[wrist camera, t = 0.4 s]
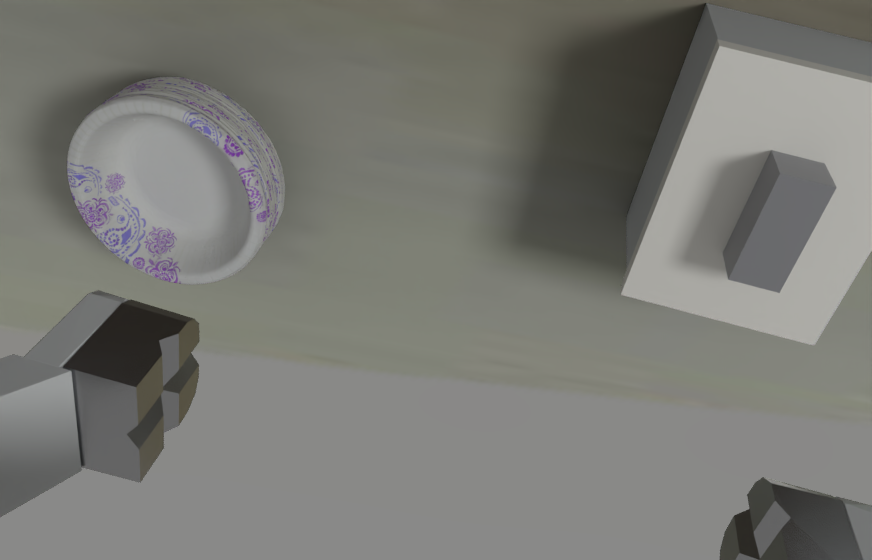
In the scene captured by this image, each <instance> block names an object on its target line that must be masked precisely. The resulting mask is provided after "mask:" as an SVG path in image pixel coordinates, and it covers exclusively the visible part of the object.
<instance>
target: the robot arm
mask: <svg viewBox="0 0 872 560" xmlns="http://www.w3.org/2000/svg"><path fill="white" fill-rule="evenodd" d="M198 343H199V323H198V322H197V321H196V320H195V319H193V318H190V317H187V316H183V315H180V314H177V313H174V312H170V311H167V310H164V309H160V308H157V307H154V306H150V305H147V304H144V303H141V302H137V301H134V300H128V299H125V298H122V297H118V296H115V295H112V294H109V293H105V292H102V291H99V290H98V291H95V292H92V293H89V294H87V295H86V296H85V297H84V298H83V299H82V300H81V301H80V302H79V303H78V304H77V305H76V306H75V307H74V308H73V309H72V310H71V311H70V312H69V313H68V314H67V315H66V316H65V317H64V318H63V319H62V320H61V321H60V322H59V323H58V324H57V325H56V326H55V327H54V328H53V329H52V330H51V331H50V332H49V333H48V334H47V335H45V337H43V338H42V340H40V341H39V342H38V343H37V344H36V345H35V346H34V347H33V348H32V349H31V350H30V351H29V352H28V353H27V354H26V355H25V356H24V357H22V356H18V355H14V354H13V355H10V356H7V357H4V358H1V359H0V517H2V516H3V515H5V514H7V513H8V512H10V511H12V510H14V509H16V508H17V507H19V506H21V505H23V504H24V503H26V502H28V501H29V500H31V499H33V498H35V497H37V496H38V495H40V494H42V493H44V492H45V491H47V490H49V489H51V488H52V487H54V486H56V485H57V484H59V483H61V482H63V481H64V480H66V479H68V478H70V477H71V476H73V475H75V474H77V473H78V472H80V471H81V470H82V469H81V467H83V468H87V469H91V470H94V471H98V472H102V473H106V474H110V475H114V476H117V477H121V478H125V479H129V480H132V481H136V482H141V481H142V479H143V478H144V476H145V475H146V474H147V472H148V471H149V469H150V468H151V466H152V465H153V463H154V462H155V460H156V459H157V457H158V456H159V454H160V453H161V451H162V450H163V448H164V432H166V431H169V430H171V429H172V428H175V427H177V426H179V425H180V423H181V421H182V420H183V418H184V417H185V415H186V413H187V412H188V410H189V407H190V405H191V403H192V400H193V398H194V395H195V393H196V388H197V383H198V377H199V364H198V363H197V361H196V360H195V358H194V357H193V355H192V354H191V352H192V351H193V350H194V348H195V347H196V345H197V344H198ZM747 496H748V502H749V508H750V509H749V510H746V511H744V512H742V513H739V514H737V515H735V516H734V517H733V519H732V520H731V522H730V524H729V525H728V527H727V529H726V531H725V534H724V537H723V541H722V545H721V549H720V560H872V506H871V505H867V504H863V503H859V502H856V501H852V500H848V499H844V498H840V497H833V496H831V495H827V494H823V493H820V492H816V491H812V490H809V489H805V488H801V487H798V486H793V485H790V484H787V483H783V482H779V481H775V480H772V479H768V478H764V477H763V478H761V479H760V480H758V481H757V482H756V483H755V484H754V485H753V487H752V488H751V490H750V491H749V493H748V494H747Z"/></svg>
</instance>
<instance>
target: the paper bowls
mask: <svg viewBox="0 0 872 560" xmlns="http://www.w3.org/2000/svg"><path fill="white" fill-rule="evenodd" d="M67 174H68V175H67V176H68V182H69V186H70V190H71V194H72V197H73V199H74V202H75V204H76V206H77V209H78V210H79V212H80V214H81V216H82V218H83V219H84V221H85V222H86V224H87V225H88V227H89V228H90V229H91V231H92V232H93V233H94V234H95V235H96V237H97V238H98V239H99V240H100V241H101V242H102V243H103V244H104V245H105V246H106V247H107V248H108V249H109V250H110V251H112V252H113V253H114V254H115V255H116V256H117V257H119V258H120V259H121V260H123V261H124V262H126V263H127V264H129V265H130V266H132V267H134V268H136V269H138V270H140V271H142V272H144V273H146V274H148V275H150V276H153V277H155V278H158V279H161V280H165V281H168V282H173V283H180V284H206V283H212V282H216V281H220V280H223V279H225V278H228V277H230V276H232V275H234V274H236V273H237V272H239V271H240V270H242V269H243V268H244V267H245V266H246V265H247V264H248V263H249V261H251V259H252V258H253V257H254V256H255V255H256V253H257V252H258V250H259V249H260V247H261V246H262V244H263V243H264V241H265V240H266V239H267V238H268V237H269V235H270V234H271V232H272V231H273V229H274V228H275V227H276V225H277V224H278V221H279V219H280V216H281V214H282V211H283V207H284V198H285V182H284V175H283V173H282V166H281V163H280V160H279V158H278V155H277V152H276V150H275V148H274V146H273V144H272V142H271V140H270V139H269V137H268V136H267V134H266V133H265V132H264V130H263V129H262V127H261V126H260V125H259V123H258V122H257V121H256V120H255V119H254V118H253V117H252V115H250V114H249V113H248V112H247V111H246V110H245V109H244V108H242V107H240V105H239V104H238V103H236V102H235V101H234V100H232V99H231V98H230V97H228V96H227V95H225V94H224V93H222V92H220V91H218V90H216V89H215V88H212V87H210V86H209V85H206V84H203V83H201V82H198V81H194V80H191V79H188V78H181V77H156V78H151V79H146V80H142V81H139V82H136V83H134V84H132V85H130V86H127V87H126V88H124V89H123V90H121V91H120V92H118V93H117V94H115V95H114V96H113V97H111V98H109V99H107V100H106V101H105V102H104V103H102V104H101V105H100V106H99V107H97V108H95V109H94V110H93V111H91V112H90V113H89V114H88V115H87V116H86V117H85V118H84V119H83V121H82V122H81V123H80V125H79V126H78V128H77V129H76V131H75V133H74V135H73V137H72V140H71V143H70V146H69V150H68V156H67Z"/></svg>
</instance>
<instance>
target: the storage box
mask: <svg viewBox="0 0 872 560" xmlns="http://www.w3.org/2000/svg"><path fill="white" fill-rule="evenodd" d="M717 39H719V40H723V41H727V42H731V43H735V44H739V45H743V46H747V47H752V48H756V49H760V50H764V51H768V52H772V53H776V54H781V55H785V56H789V57H793V58H797V59H801V60H805V61H809V62H814V63H818V64H822V65H826V66H830V67H834V68H838V69H842V70H847V71H851V72H855V73H859V74H863V75H867V76H871V77H872V43H871V42H867V41H862V40H858V39H854V38H850V37H846V36H842V35H837V34H833V33H829V32H825V31H821V30H817V29H812V28H808V27H804V26H800V25H796V24H791V23H787V22H783V21H779V20H775V19H771V18H766V17H762V16H758V15H754V14H750V13H746V12H741V11H737V10H733V9H729V8H725V7H721V6H716V5H712V4H708V3H706V5H705V8H704V10H703V13H702V16H701V18H700V21H699V24H698V26H697V29H696V32H695V34H694V37H693V40H692V42H691V45H690V48H689V50H688V53H687V56H686V58H685V61H684V64H683V66H682V69H681V72H680V74H679V77H678V80H677V82H676V85H675V88H674V90H673V93H672V96H671V98H670V101H669V104H668V106H667V109H666V112H665V114H664V117H663V120H662V122H661V125H660V128H659V130H658V133H657V136H656V138H655V141H654V144H653V146H652V149H651V152H650V154H649V157H648V160H647V162H646V165H645V168H644V170H643V173H642V176H641V178H640V181H639V184H638V186H637V189H636V192H635V194H634V197H633V200H632V202H631V205H630V208H629V210H628V213H627V216H626V249H627V268H628V265H629V262H630V260H631V257H632V255H633V252H634V250H635V247H636V245H637V242H638V240H639V237H640V234H641V232H642V229H643V227H644V224H645V222H646V219H647V217H648V214H649V212H650V209H651V207H652V204H653V201H654V199H655V196H656V194H657V191H658V189H659V186H660V184H661V181H662V179H663V176H664V173H665V171H666V168H667V166H668V163H669V161H670V158H671V156H672V153H673V151H674V148H675V145H676V143H677V140H678V138H679V135H680V133H681V130H682V128H683V125H684V123H685V120H686V118H687V115H688V112H689V110H690V107H691V105H692V102H693V100H694V97H695V95H696V92H697V90H698V87H699V84H700V82H701V79H702V77H703V74H704V72H705V69H706V67H707V64H708V62H709V59H710V56H711V54H712V51H713V49H714V46H715V44H716V41H717Z"/></svg>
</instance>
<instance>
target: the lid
mask: <svg viewBox="0 0 872 560" xmlns="http://www.w3.org/2000/svg"><path fill="white" fill-rule="evenodd" d="M871 251H872V77H871V76H867V75H863V74H859V73H855V72H851V71H847V70H842V69H838V68H834V67H830V66H826V65H822V64H818V63H814V62H809V61H805V60H801V59H797V58H793V57H789V56H785V55H781V54H776V53H772V52H768V51H764V50H760V49H756V48H752V47H747V46H743V45H739V44H735V43H731V42H727V41H723V40H719V39H717V41H716V44H715V46H714V49H713V51H712V54H711V56H710V59H709V62H708V64H707V67H706V69H705V72H704V74H703V77H702V79H701V82H700V84H699V87H698V90H697V92H696V95H695V97H694V100H693V102H692V105H691V107H690V110H689V112H688V115H687V118H686V120H685V123H684V125H683V128H682V130H681V133H680V135H679V138H678V140H677V143H676V145H675V148H674V151H673V153H672V156H671V158H670V161H669V163H668V166H667V168H666V171H665V173H664V176H663V179H662V181H661V184H660V186H659V189H658V191H657V194H656V196H655V199H654V201H653V204H652V207H651V209H650V212H649V214H648V217H647V219H646V222H645V224H644V227H643V229H642V232H641V234H640V237H639V240H638V242H637V245H636V247H635V250H634V252H633V255H632V257H631V260H630V262H629V265H628V268H627V270H626V273H625V275H624V278H623V280H622V283H621V295H624V296H628V297H632V298H635V299H639V300H643V301H647V302H651V303H654V304H658V305H662V306H666V307H670V308H673V309H677V310H681V311H685V312H689V313H692V314H696V315H700V316H704V317H708V318H711V319H715V320H719V321H723V322H727V323H730V324H734V325H738V326H742V327H746V328H749V329H753V330H757V331H761V332H765V333H768V334H772V335H776V336H780V337H784V338H787V339H791V340H795V341H799V342H803V343H806V344H810V345H815V343H816V342H817V340H818V338H819V337H820V335H821V333H822V332H823V330H824V328H825V327H826V325H827V323H828V322H829V320H830V318H831V317H832V315H833V313H834V312H835V310H836V308H837V307H838V305H839V304H840V302H841V300H842V299H843V297H844V295H845V294H846V292H847V290H848V289H849V287H850V285H851V284H852V282H853V280H854V279H855V277H856V275H857V274H858V272H859V270H860V269H861V267H862V265H863V264H864V262H865V261H866V259H867V257H868V256H869V254H870V252H871Z"/></svg>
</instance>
